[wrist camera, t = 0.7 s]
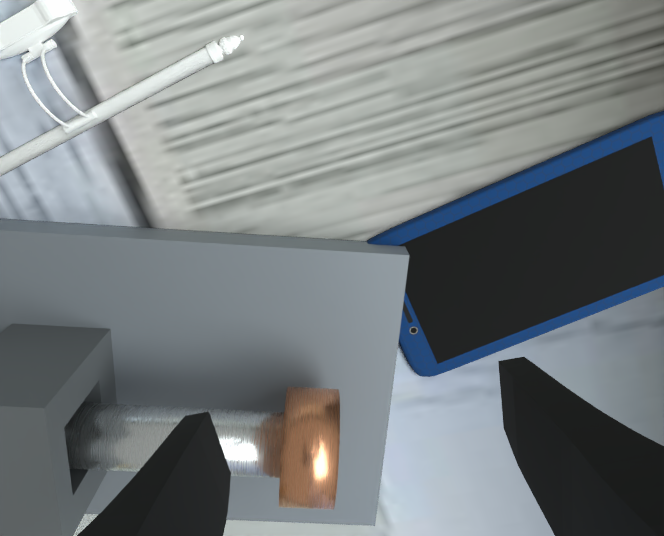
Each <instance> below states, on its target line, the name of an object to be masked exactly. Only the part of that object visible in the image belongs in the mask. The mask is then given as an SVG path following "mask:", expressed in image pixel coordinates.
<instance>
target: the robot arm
mask: <svg viewBox="0 0 664 536" xmlns="http://www.w3.org/2000/svg"><path fill="white" fill-rule="evenodd" d="M499 373H500V386H501V398H502V411H503V423H504V430H505V432H506V435H507V438H508V440H509V443H510V446H511V448H512V451H513V454H514V456H515V459H516V461H517V464H518V466H519V468H520V470H521V472H522V474H523V476H524V478H525V480H526V482H527V484H528V485H529V487H530V489H531V491H532V493H533V495H534V497H535V499H536V501H537V503H538V504H539V506H540V508H541V510H542V512H543V514H544V516H545V518H546V519H547V521H548V523H549V525H550V527H551V529H552V531H553V533H554V535H555V536H664V446H662V445H660V444H658V443H656V442H654V441H652V440H650V439H648V438H646V437H644V436H643V435H641V434H639V433H637V432H635V431H633V430H632V429H630V428H628V427H626V426H625V425H623V424H621V423H620V422H618V421H616V420H615V419H613V418H611V417H610V416H608V415H606V414H605V413H603V412H602V411H600V410H598V409H597V408H595V407H594V406H592V405H591V404H589V403H588V402H586V401H585V400H583V399H582V398H580V397H579V396H577V395H576V394H575V393H573V392H572V391H570V390H569V389H567V388H566V387H565V386H563V385H562V384H560V383H559V382H558V381H556V380H555V379H554V378H552V377H551V376H550V375H548V374H547V373H545V372H544V371H543V370H541V369H540V368H539V367H537V366H536V365H535V364H533V363H532V362H531V361H529V360H528V359H526V358H525V357H520V358H514V359H509V360H503V361H499ZM230 480H231V472H230V469H229V466H228V464H227V461H226V458H225V455H224V452H223V450H222V447H221V444H220V441H219V438H218V436H217V433H216V430H215V427H214V424H213V422H212V419H211V416H210V413H209V412H204V413H198V414H192V415H186V416H185V417H184V418H183V419H182V420H181V421H180V422H179V423H178V425H177V426H176V427H175V428H174V429H173V431H172V432H171V433H170V434H169V435H168V437H167V438H166V439H165V440H164V441H163V443H162V444H161V445H160V446H159V448H158V449H157V450H156V451H155V452H154V454H153V455H152V456H151V457H150V458H149V460H148V461H147V462H146V463H145V464H144V465H143V467H142V468H141V469H140V470H139V471H138V473H137V474H136V475H135V476H134V477H133V478H132V479H131V481H130V482H129V483H128V484H127V485H126V486H125V487H124V488H123V489H122V490H121V491H120V492H119V494H118V495H117V496H116V497H115V498H114V499H113V500H112V501H111V502H110V503H109V504H108V506H107V507H106V508H105V509H104V510H103V511H102V512H101V513H100V514H99V515H98V516H97V517H96V518H95V519H94V520H93V521H92V522H91V523H90V524H89V525H88V526H87V527H86V528H85V529H84V530H83V531H82V532H80V533H79V534H78V535H77V536H223V533H224V528H225V523H226V518H227V514H228V504H229V494H230Z"/></svg>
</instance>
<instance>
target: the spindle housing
mask: <svg viewBox="0 0 664 536" xmlns="http://www.w3.org/2000/svg"><path fill="white" fill-rule="evenodd" d="M408 263H409V253H408V251H407V249H406V247H405V246H391V245H375V244H368V243H367V242H366V241H350V240H334V239H318V238H302V237H286V236H270V235H253V234H237V233H221V232H205V231H189V230H173V229H157V228H141V227H125V226H109V225H93V224H77V223H60V222H44V221H28V220H12V219H0V536H73V534H74V532H75V530H76V529H77V527H78V525H79V523H80V521H81V519H82V518H83V516H84V514H100V513H101V512H102V511H103V510H104V509H105V508H106V507H107V506H108V504H109V503H110V502H111V501H112V500H113V499H114V498H115V497H116V496H117V495H118V494H119V492H120V491H121V490H122V489H123V488H124V487H125V486H126V485H127V484H128V483H129V482H130V481H131V479H132V478H133V477H134V476H135V475H136V474H137V473H138V472H133V471H111V470H88V469H69V462H68V454H67V446H66V438H65V431H64V427H65V426H66V424H67V423H68V422H69V420H70V419H71V418H72V416H73V415H74V413H75V412H76V411H77V409H78V408H79V407H80V405H81V404H82V403H104V404H124V405H144V406H164V407H184V408H204V409H224V410H245V411H265V412H285V401H286V393H287V387H307V388H327V389H339V395H340V444H339V466H338V481H337V493H336V501H335V507H334V510H329V509H306V508H283V507H279V483H280V478H266V477H244V476H231V480H230V494H229V504H228V514H227V518H226V520H250V521H274V522H298V523H322V524H346V525H370V526H375V522H376V514H377V506H378V498H379V491H380V483H381V475H382V467H383V459H384V451H385V443H386V436H387V428H388V420H389V412H390V404H391V396H392V389H393V381H394V373H395V365H396V357H397V349H398V341H399V334H400V326H401V318H402V310H403V302H404V294H405V286H406V279H407V271H408Z"/></svg>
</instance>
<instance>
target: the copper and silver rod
mask: <svg viewBox="0 0 664 536" xmlns="http://www.w3.org/2000/svg"><path fill="white" fill-rule="evenodd" d="M204 412H209V413H210V416H211V419H212V422H213V424H214V427H215V430H216V433H217V436H218V438H219V441H220V444H221V447H222V450H223V452H224V455H225V458H226V461H227V464H228V466H229V469H230V472H231V476H244V477H266V478H280V483H279V507H283V508H306V509H329V510H334V507H335V501H336V493H337V481H338V466H339V444H340V395H339V389H327V388H307V387H287V393H286V401H285V412H265V411H245V410H224V409H204V408H184V407H164V406H144V405H124V404H104V403H82V404H81V405H80V407H79V408H78V409H77V411H76V412H75V413H74V415H73V416H72V418H71V419H70V420H69V422H68V423H67V424H66V426H65V427H64V431H65V438H66V446H67V454H68V462H69V469H88V470H111V471H133V472H138V471H139V470H140V469H141V468H142V467H143V465H144V464H145V463H146V462H147V461H148V460H149V458H150V457H151V456H152V455H153V454H154V452H155V451H156V450H157V449H158V448H159V446H160V445H161V444H162V443H163V441H164V440H165V439H166V438H167V437H168V435H169V434H170V433H171V432H172V431H173V429H174V428H175V427H176V426H177V425H178V423H179V422H180V421H181V420H182V419H183V418H184V417H185V416H186V415H192V414H198V413H204Z"/></svg>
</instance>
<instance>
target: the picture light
mask: <svg viewBox="0 0 664 536" xmlns="http://www.w3.org/2000/svg"><path fill="white" fill-rule="evenodd" d="M77 12H78V11H77V9H76V7H75V6H74V4H73V2H72V0H37V1H36V2H35V3H34V4H32V5H31V6H29V7H27V8H26V9H24V10H22V11H20V12H19V13H17V14H15V15H14V16H12V17H10V18H8V19H7V20H5V21H3V22H2V23H0V59H6V58H10V57H13V56H16V55H19V54H21V53H24V52H26V51H28V50H29V52H28V53H26V54H24V55H23V56H21V58H22V60H23V62H22V65H21V69H22V74H23V78H24V80H25V83H26V85H27V87H28V89H29V91H30V93H31V94H32V96H33V97H34V99H35V100H36V101H37V103H38V104H39V105H40V106H41V107H42V108H43V110H44V111H45V112H46V113H47V114H48V115H49V116H50V117H52V118H53V119H54V120H55V121H56V122H58V123H59V124H61V125H59V126H57V127H55V128H53V129H52V130H50V131H48V132H46V133H44V134H42V135H40V136H39V137H37V138H35V139H33V140H31V141H29V142H27V143H26V144H24V145H22V146H20V147H18V148H16V149H15V150H13V151H11V152H9V153H7V154H5V155H3V156H2V157H0V176H2V175H4V174H6V173H8V172H9V171H11V170H13V169H15V168H17V167H19V166H21V165H23V164H24V163H26V162H28V161H30V160H32V159H34V158H36V157H38V156H40V155H41V154H43V153H45V152H47V151H49V150H51V149H53V148H55V147H57V146H58V145H60V144H62V143H64V142H66V141H68V140H70V139H72V138H73V137H75V136H77V135H79V134H81V133H83V132H85V131H87V130H88V129H90V128H92V127H94V126H96V125H98V124H100V123H102V122H103V121H105V120H107V119H109V118H111V117H113V116H115V115H117V114H118V113H120V112H122V111H124V110H126V109H128V108H130V107H132V106H134V105H135V104H137V103H139V102H141V101H143V100H145V99H147V98H149V97H150V96H152V95H154V94H156V93H158V92H160V91H162V90H164V89H165V88H167V87H169V86H171V85H173V84H175V83H177V82H179V81H181V80H182V79H184V78H186V77H188V76H190V75H192V74H194V73H196V72H198V71H200V70H201V69H203V68H205V67H207V66H209V65H211V64H213V63H217V62H219V61H221V60H223V55H222V52H224V53H225V54H227V55H229V54H231V53H232V50H234V49H236V48H237V47H238V46H239V44H240V40H244V36H243V35H240V37H237V36H229V37H227V38H226V37H223V38H221V39H220V41H219V44H220V45H219V46H218V45H217V44H216V42H214V41H212V42H210V43H209V44H207V45H206V46H205V47H204V48H202V49H200V50H198V51H196V52H194V53H192V54H191V55H189V56H187V57H185V58H183V59H181V60H179V61H178V62H176V63H174V64H172V65H170V66H168V67H167V68H165V69H163V70H161V71H159V72H157V73H155V74H154V75H152V76H150V77H148V78H146V79H144V80H142V81H141V82H139V83H137V84H135V85H133V86H131V87H129V88H128V89H126V90H124V91H122V92H120V93H118V94H116V95H115V96H113V97H111V98H109V99H107V100H105V101H103V102H102V103H100V104H98V105H96V106H94V107H92V108H90V109H89V110H87V111H85V112H81V111H80V110H78V109H77V108H76V107H75V106H74V105H72V104H71V103H70V102H69V100H68V99H67V98H66V97H65V96H64V95H63V94H62V92H61V91H60V90H59V88H58V87H57V86H56V84H55V83H54V81H53V79H52V77H51V75H50V73H49V71H48V68H47V66H46V62H45V53H47V52H49V51H50V50H52V49H54V48H56V47H57V44H56V43H55V41H54V40H52V39H51V40H49V41H47V42H46V43H43V42H44V41H46V40H47V39H49V38H50V37H52V36H53V35H54V34H55V33H56V32H57V31H59V30H60V29H61V28H62V27H63V26H64V25H65V24H66V22H67V21H68V19H69V18H71V17H73V16H74V15H76V14H77ZM40 56H41V61H42V65H43V68H44V71H45V73H46V75H47V77H48V79H49V81H50V82H51V84H52V86H53V87H54V89H55V90H56V91H57V93H58V94H59V95H60V96H61V98H62V99H63V100H64V101H65V102H66V103H67V104H68V105H69V106H70V107H71V108H72V109H73V110H74V111H76V112H77V113H78V114H79V115H77V116H76V117H74V118H72V119H70V120H68V121H66V122H62V121H61V120H59V119H58V118H57V117H55V116H54V115H53V114H52V113H51V112H50V111H49V110H48V109H47V108H46V107H45V106H44V105H43V103H42V102H41V101H40V100H39V98H38V97H37V96H36V94H35V93H34V91H33V89H32V87H31V85H30V83H29V81H28V78H27V75H26V70H25V66H26V64H27V63H29V62H31V61H33V60H34V59H36V58H38V57H40Z"/></svg>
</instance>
